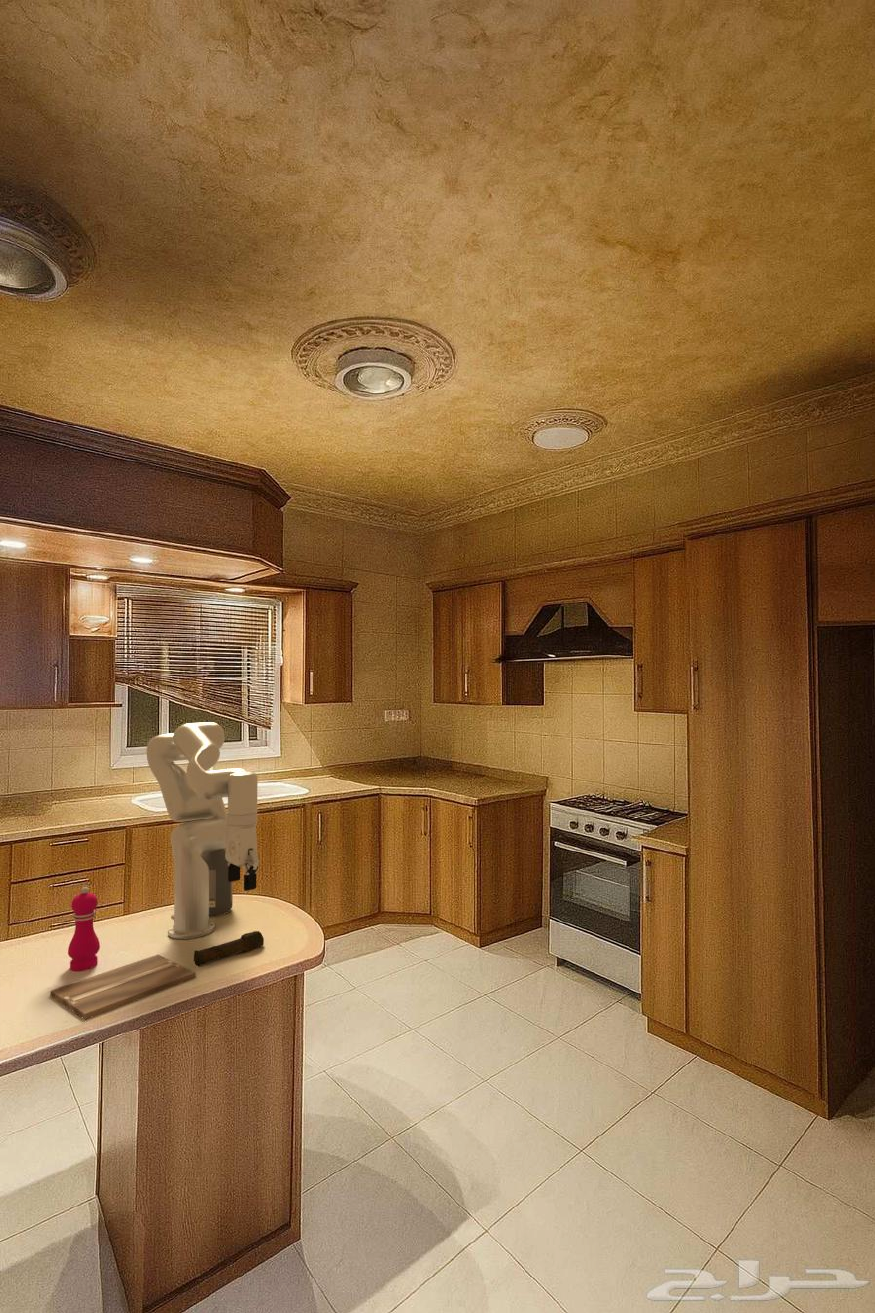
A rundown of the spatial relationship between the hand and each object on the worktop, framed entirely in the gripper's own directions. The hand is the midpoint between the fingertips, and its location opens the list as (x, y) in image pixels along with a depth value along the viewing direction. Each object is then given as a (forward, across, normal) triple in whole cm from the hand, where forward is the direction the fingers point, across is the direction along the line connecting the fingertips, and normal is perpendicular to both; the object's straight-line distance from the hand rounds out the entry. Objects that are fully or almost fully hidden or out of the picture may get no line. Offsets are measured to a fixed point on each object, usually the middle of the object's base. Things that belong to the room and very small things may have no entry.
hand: (241, 885), depth 173 cm
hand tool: (+19, -4, -1) cm, 20 cm away
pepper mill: (+19, -23, -32) cm, 44 cm away
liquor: (+20, -40, +9) cm, 46 cm away
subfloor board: (+19, -3, -28) cm, 34 cm away
